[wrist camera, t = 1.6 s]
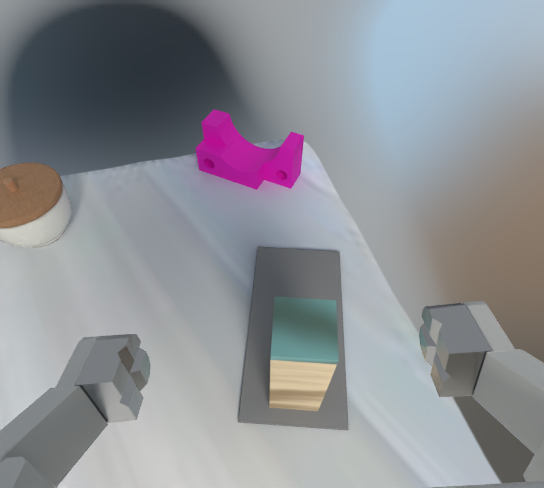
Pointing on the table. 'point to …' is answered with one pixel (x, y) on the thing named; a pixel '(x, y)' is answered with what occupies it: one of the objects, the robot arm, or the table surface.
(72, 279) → the table surface
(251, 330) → the mat
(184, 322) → the table surface
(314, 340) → the tall block
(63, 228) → the lidded jar
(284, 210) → the table surface
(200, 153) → the toy block
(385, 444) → the table surface
